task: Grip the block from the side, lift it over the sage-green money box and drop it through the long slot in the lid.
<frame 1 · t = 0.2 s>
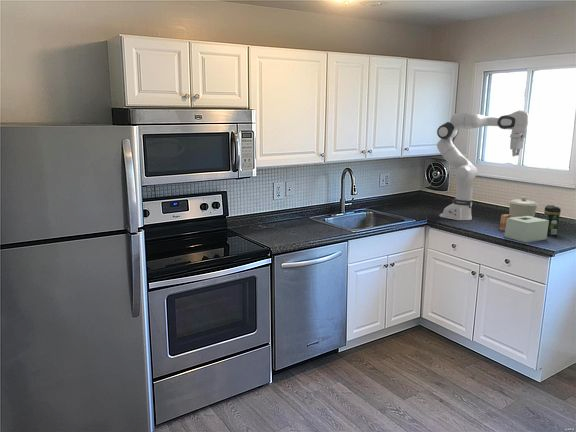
hand: (515, 155, 310), 48 cm above the worktop, tool pointing down, fingers open, 8 cm apart
block: (504, 229, 307), on the worktop
canister: (520, 226, 317), on the worktop
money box: (525, 238, 285), on the worktop
coffee jar: (548, 234, 298), on the worktop
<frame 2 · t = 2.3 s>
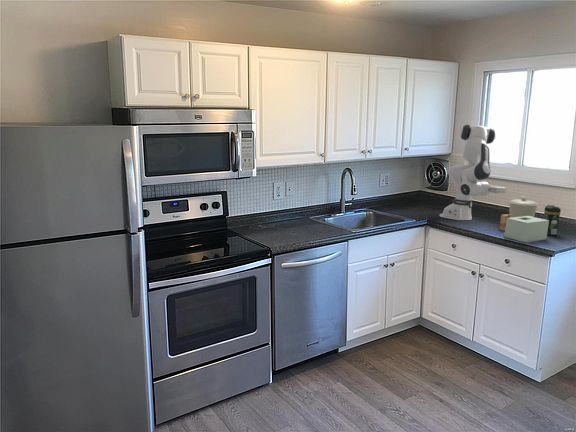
hand: (497, 187, 295), 28 cm above the worktop, tool horizontal, fingers open, 8 cm apart
nothing on the worktop moved.
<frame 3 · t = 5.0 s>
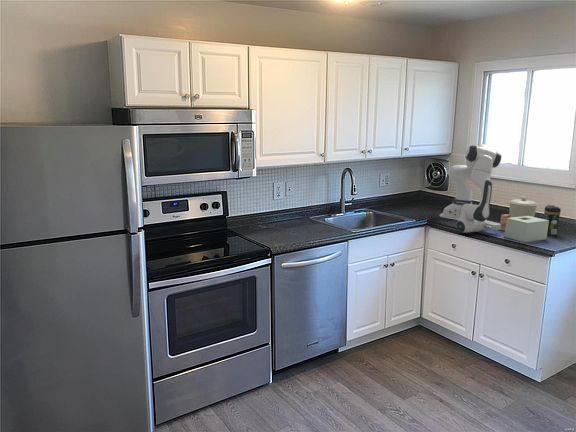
hand: (493, 222, 300), 5 cm above the worktop, tool horizontal, fingers open, 8 cm apart
nothing on the worktop moved.
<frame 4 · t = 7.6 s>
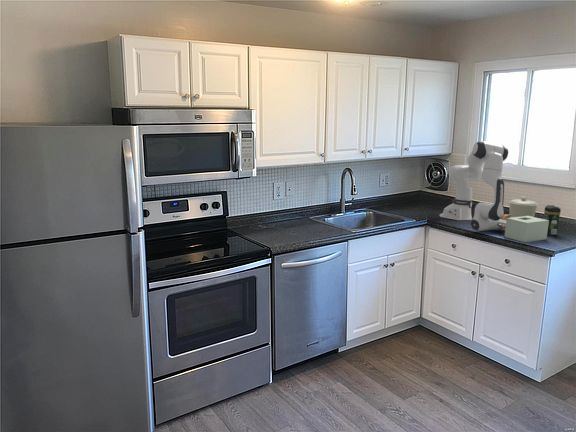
hand: (506, 221, 306), 6 cm above the worktop, tool horizontal, fingers closed on block, 3 cm apart
block: (504, 229, 307), on the worktop, touching gripper
everything else where it was.
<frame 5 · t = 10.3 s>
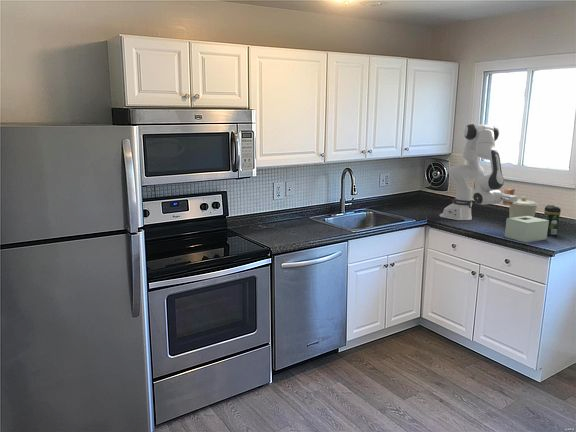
hand: (509, 195, 302), 23 cm above the worktop, tool horizontal, fingers closed on block, 3 cm apart
block: (507, 204, 303), point 17 cm above the worktop, touching gripper
everything else where it was.
when the fingers open (20 cm above the worktop, at t = 12.8 s): block drops 13 cm, resting on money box.
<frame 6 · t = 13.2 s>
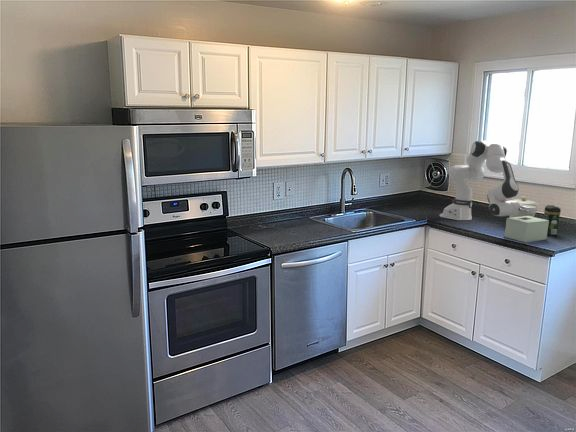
hand: (527, 206, 283), 20 cm above the worktop, tool horizontal, fingers open, 7 cm apart
block: (522, 236, 287), resting on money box
everything else where it was.
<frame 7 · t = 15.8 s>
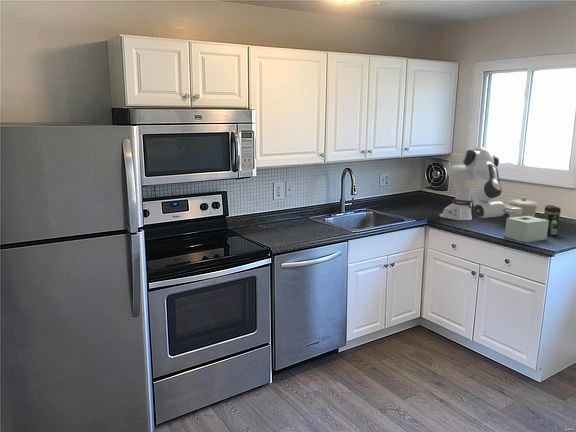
hand: (513, 207, 277), 20 cm above the worktop, tool horizontal, fingers open, 8 cm apart
nothing on the worktop moved.
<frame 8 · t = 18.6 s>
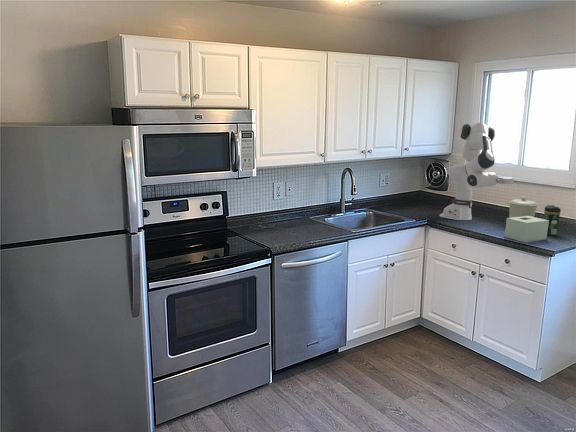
hand: (505, 178, 289), 35 cm above the worktop, tool horizontal, fingers open, 8 cm apart
nothing on the worktop moved.
at the end: block inside the target area on the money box (2.0 cm from its centre), point 0.5 cm above the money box's base; block touching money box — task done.
